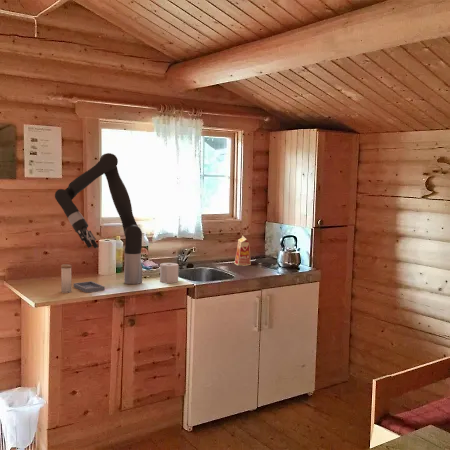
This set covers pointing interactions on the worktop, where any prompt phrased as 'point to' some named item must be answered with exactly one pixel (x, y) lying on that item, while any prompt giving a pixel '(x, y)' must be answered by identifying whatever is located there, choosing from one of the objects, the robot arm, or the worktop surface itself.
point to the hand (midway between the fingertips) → (93, 247)
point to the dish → (89, 286)
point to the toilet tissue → (169, 272)
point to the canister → (66, 278)
